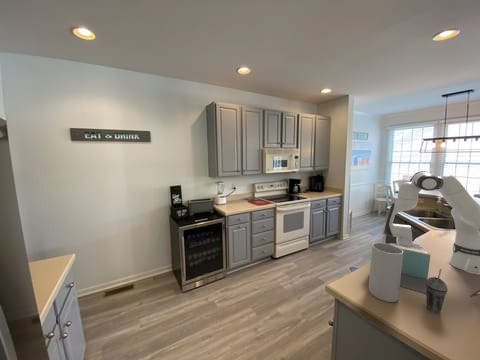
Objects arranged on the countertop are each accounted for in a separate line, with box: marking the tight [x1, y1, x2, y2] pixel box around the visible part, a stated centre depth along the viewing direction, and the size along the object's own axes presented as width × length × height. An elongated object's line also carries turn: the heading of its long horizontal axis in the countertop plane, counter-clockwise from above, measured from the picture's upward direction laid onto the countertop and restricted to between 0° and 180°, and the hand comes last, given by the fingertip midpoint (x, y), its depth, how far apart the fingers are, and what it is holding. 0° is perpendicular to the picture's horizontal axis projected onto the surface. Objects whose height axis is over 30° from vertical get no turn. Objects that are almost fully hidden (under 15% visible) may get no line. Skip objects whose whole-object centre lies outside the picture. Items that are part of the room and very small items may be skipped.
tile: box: [398, 247, 431, 279], centre depth 118 cm, size 15×2×15 cm, turn 57°
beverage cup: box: [425, 268, 448, 315], centre depth 90 cm, size 7×7×20 cm
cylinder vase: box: [368, 242, 403, 303], centre depth 100 cm, size 12×12×25 cm
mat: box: [400, 273, 427, 295], centre depth 111 cm, size 18×16×1 cm
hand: (409, 255), depth 127 cm, fingers closed
